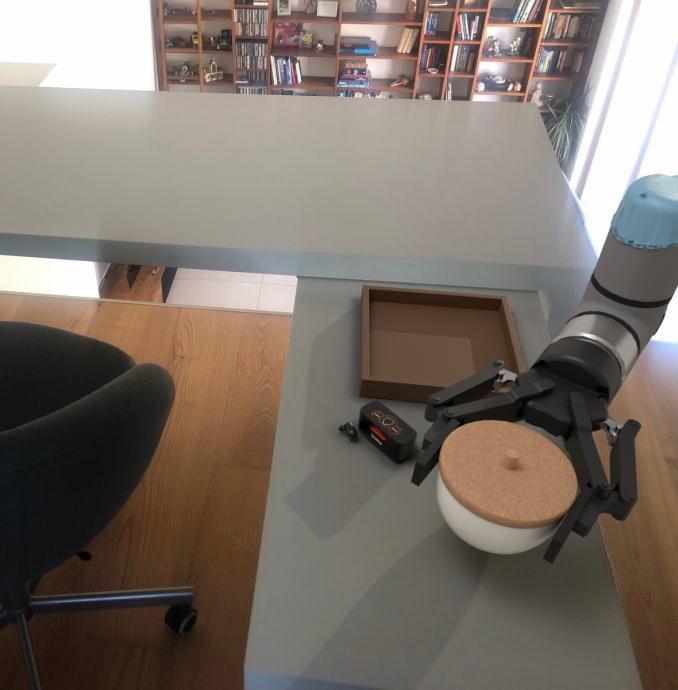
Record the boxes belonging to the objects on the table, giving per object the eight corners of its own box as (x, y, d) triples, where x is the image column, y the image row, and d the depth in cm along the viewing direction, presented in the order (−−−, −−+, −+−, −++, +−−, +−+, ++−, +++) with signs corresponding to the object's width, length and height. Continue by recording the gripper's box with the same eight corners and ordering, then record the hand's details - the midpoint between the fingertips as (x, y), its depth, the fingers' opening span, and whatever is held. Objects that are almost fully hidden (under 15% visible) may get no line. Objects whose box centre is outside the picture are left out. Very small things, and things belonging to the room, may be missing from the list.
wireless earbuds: (367, 414, 79) (371, 394, 77) (414, 454, 74) (419, 433, 72) (337, 432, 77) (339, 412, 75) (383, 474, 72) (387, 453, 70)
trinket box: (543, 486, 65) (574, 416, 59) (558, 588, 57) (596, 519, 51) (425, 467, 67) (443, 397, 61) (424, 563, 59) (444, 494, 53)
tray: (501, 312, 92) (507, 295, 90) (525, 413, 78) (532, 395, 77) (360, 301, 95) (362, 284, 93) (358, 396, 81) (361, 379, 79)
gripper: (695, 452, 64) (616, 624, 52) (463, 348, 76) (353, 467, 64) (732, 395, 60) (654, 568, 47) (478, 293, 71) (362, 410, 59)
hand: (481, 510), depth 56 cm, fingers closed on trinket box, 11 cm apart
